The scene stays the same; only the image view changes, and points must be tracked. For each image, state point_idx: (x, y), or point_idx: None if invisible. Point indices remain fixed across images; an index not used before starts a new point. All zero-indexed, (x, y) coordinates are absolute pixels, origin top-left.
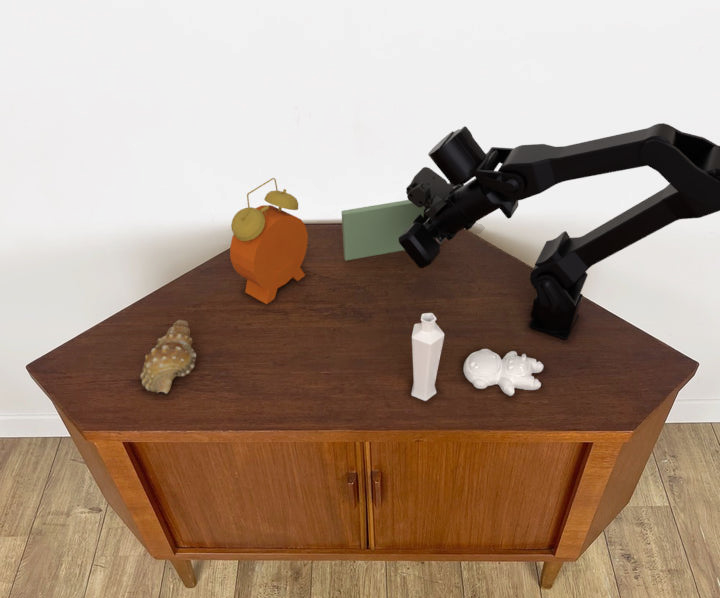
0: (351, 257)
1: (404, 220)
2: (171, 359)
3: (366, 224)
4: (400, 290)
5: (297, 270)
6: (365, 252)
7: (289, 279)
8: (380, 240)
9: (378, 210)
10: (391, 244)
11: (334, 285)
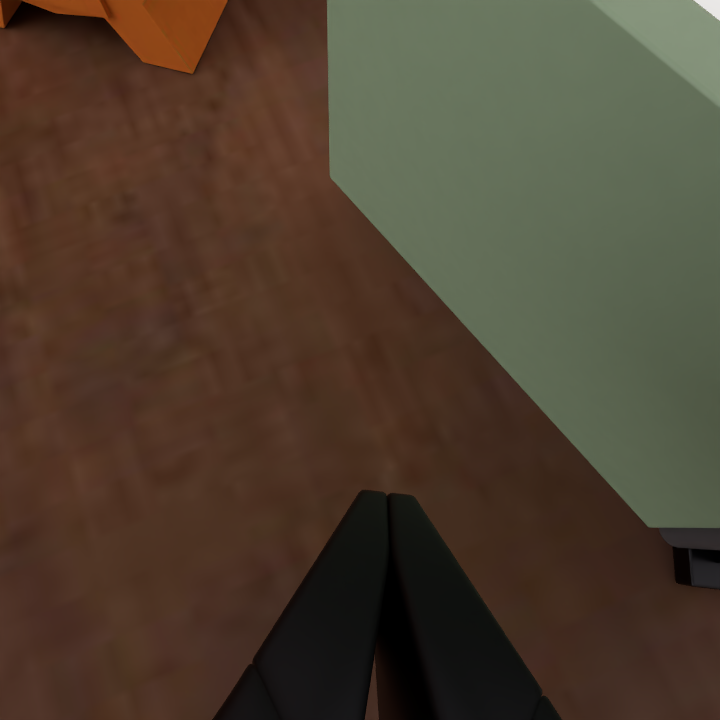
0: (350, 191)
1: (707, 355)
2: None
3: (452, 83)
4: (227, 540)
5: (125, 8)
6: (403, 237)
7: (67, 8)
8: (482, 270)
9: (594, 37)
10: (521, 346)
11: (161, 206)
